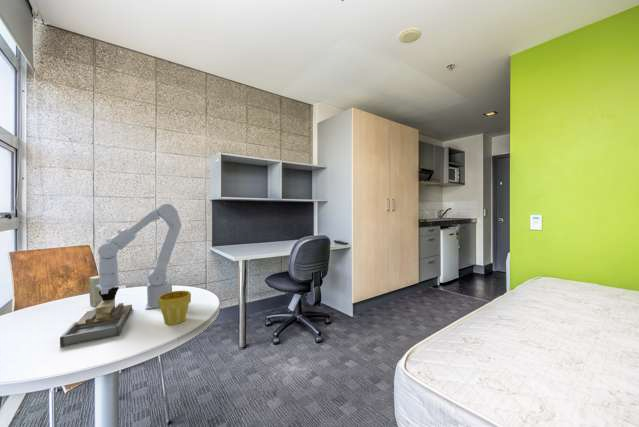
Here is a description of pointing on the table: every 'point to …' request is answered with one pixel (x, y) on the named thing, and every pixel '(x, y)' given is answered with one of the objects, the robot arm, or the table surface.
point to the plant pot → (174, 306)
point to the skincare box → (94, 291)
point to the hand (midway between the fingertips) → (109, 307)
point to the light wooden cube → (109, 302)
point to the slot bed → (116, 315)
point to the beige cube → (103, 310)
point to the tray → (91, 332)
